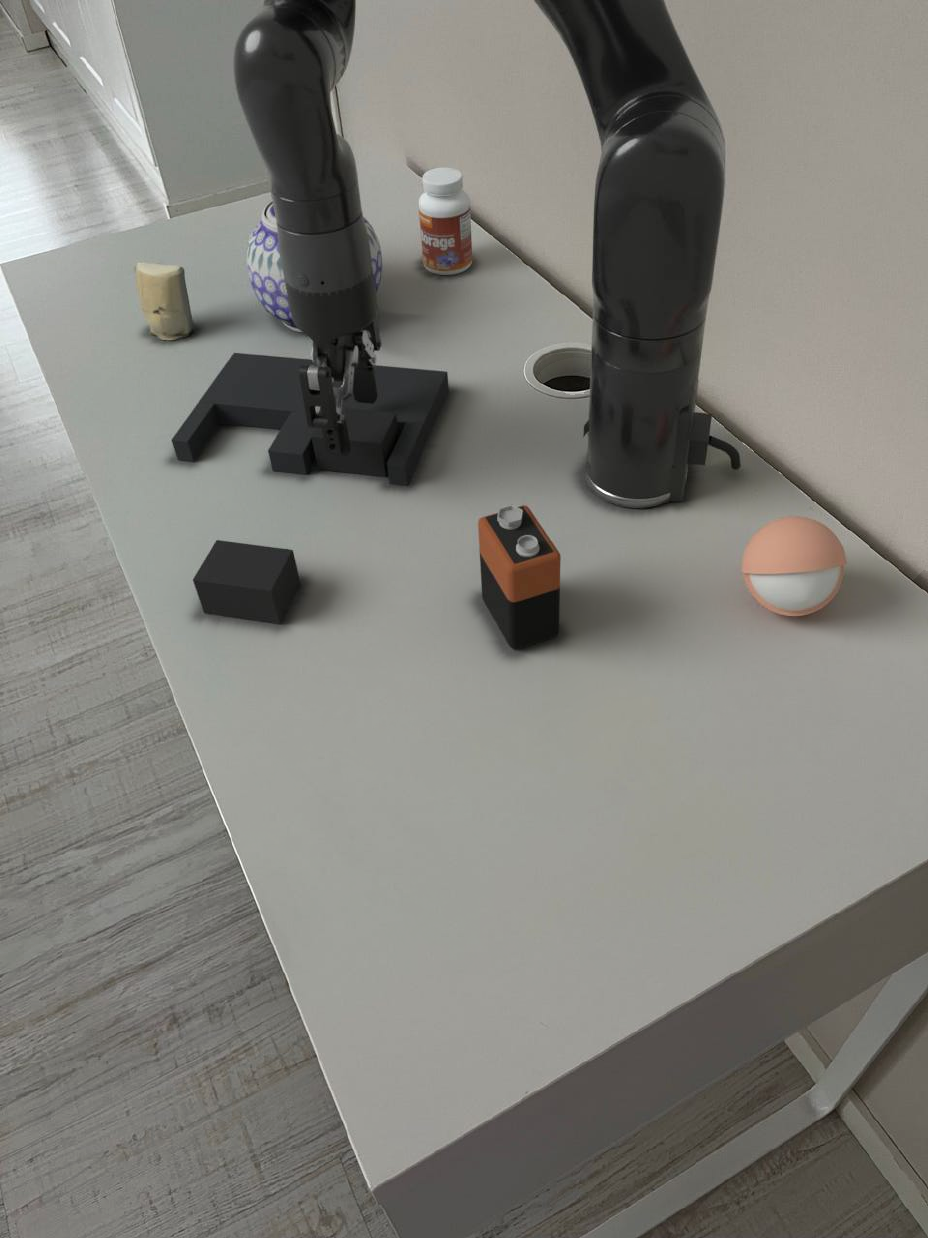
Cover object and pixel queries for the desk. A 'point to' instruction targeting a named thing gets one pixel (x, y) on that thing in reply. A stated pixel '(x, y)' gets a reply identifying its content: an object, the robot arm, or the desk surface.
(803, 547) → the toy ball
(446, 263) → the pill bottle
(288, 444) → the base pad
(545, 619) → the battery
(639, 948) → the desk surface
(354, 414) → the pad
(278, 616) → the pad
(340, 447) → the robot arm
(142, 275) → the beige upright cylinder
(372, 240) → the teapot
